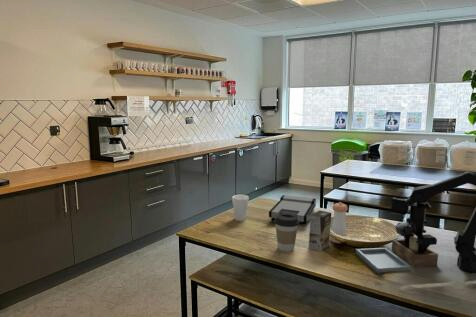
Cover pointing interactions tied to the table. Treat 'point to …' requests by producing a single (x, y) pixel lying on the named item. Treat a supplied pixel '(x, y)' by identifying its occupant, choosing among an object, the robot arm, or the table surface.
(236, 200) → the foam cup
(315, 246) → the coffee box
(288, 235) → the coffee cup
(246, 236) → the table surface
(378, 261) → the tray
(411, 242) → the dowel pin
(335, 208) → the pepper shaker
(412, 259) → the pin trough
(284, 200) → the office tray
